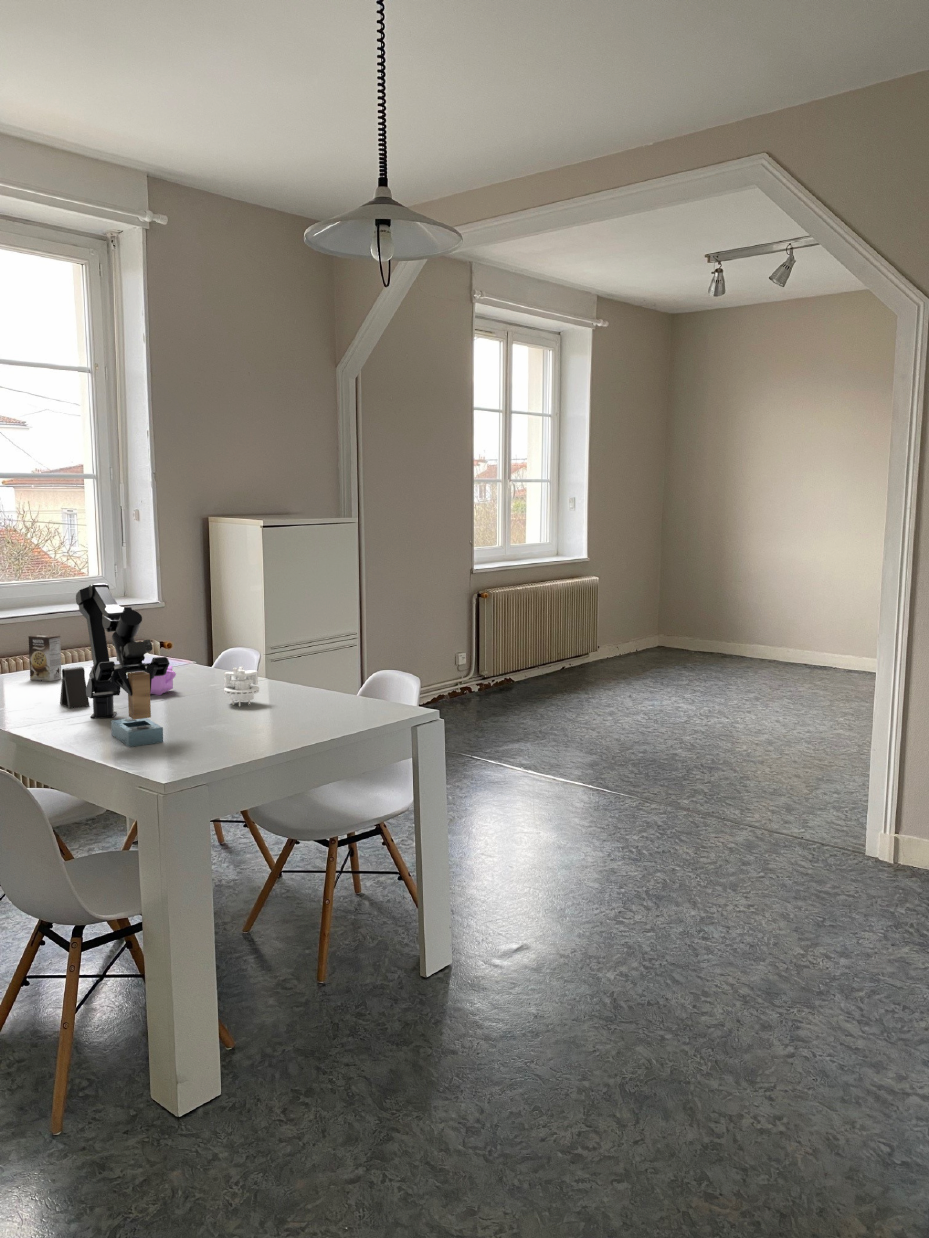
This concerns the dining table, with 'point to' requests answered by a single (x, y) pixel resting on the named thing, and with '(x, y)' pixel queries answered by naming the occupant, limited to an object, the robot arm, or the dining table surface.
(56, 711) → the dining table surface
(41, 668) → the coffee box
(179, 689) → the dining table surface
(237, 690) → the mechanical part
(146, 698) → the wooden square peg
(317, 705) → the dining table surface
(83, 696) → the phone stand
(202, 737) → the dining table surface
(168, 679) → the teapot
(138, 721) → the socket block
